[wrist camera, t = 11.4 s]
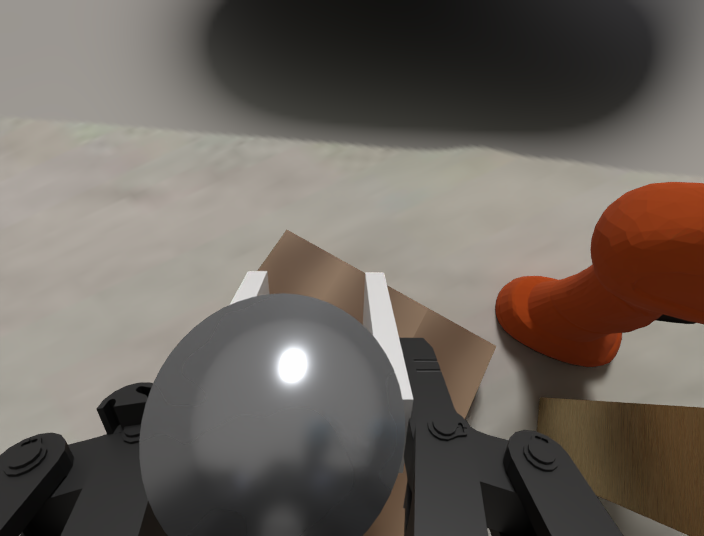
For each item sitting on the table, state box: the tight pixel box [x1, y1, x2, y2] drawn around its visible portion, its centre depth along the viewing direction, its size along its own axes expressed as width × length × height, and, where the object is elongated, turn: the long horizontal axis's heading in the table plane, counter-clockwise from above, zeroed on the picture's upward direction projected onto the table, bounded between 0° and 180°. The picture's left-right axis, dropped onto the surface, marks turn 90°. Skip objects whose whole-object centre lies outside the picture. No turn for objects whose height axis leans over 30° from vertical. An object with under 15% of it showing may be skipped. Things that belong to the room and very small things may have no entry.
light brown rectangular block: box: [537, 397, 704, 536], centre depth 15 cm, size 4×4×11 cm
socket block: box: [258, 230, 496, 536], centre depth 20 cm, size 14×14×3 cm
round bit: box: [139, 293, 405, 536], centre depth 11 cm, size 4×4×12 cm
